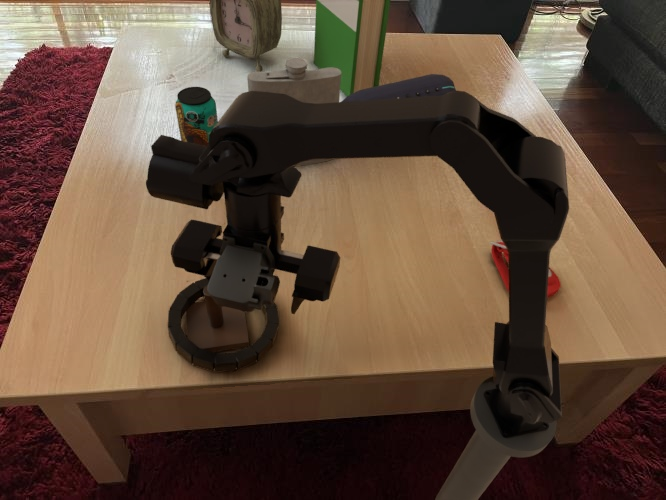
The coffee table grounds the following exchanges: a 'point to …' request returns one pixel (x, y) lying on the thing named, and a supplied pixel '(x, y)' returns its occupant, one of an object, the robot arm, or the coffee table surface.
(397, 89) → the portable speaker
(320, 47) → the hardback book
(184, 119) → the beverage can
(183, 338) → the ring
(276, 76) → the hip flask
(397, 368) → the coffee table surface
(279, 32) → the tabletop clock
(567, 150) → the coffee table surface
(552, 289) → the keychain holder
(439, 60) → the coffee table surface
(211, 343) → the post
